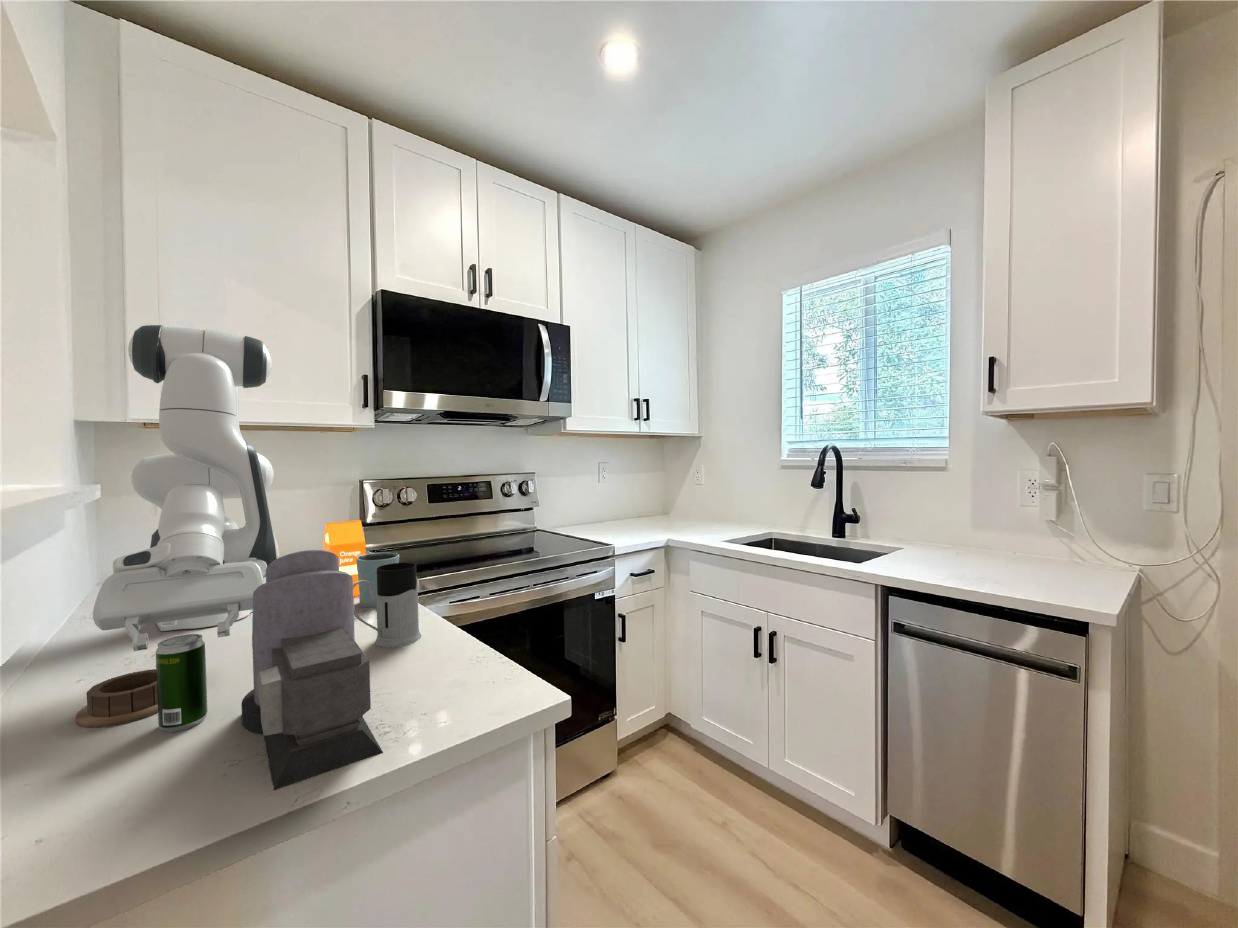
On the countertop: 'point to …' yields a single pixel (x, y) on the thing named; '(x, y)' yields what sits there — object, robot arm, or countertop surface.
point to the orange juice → (346, 546)
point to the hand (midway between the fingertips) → (183, 641)
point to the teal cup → (371, 574)
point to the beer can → (181, 682)
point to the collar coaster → (120, 700)
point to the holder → (395, 604)
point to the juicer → (308, 670)
